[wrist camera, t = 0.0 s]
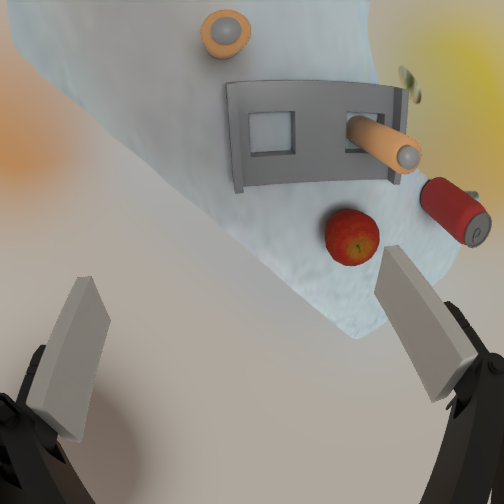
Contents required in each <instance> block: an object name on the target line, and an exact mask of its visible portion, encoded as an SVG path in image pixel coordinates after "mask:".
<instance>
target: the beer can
mask: <svg viewBox="0 0 504 504" xmlns="http://www.w3.org/2000/svg"><path fill="white" fill-rule="evenodd" d="M421 205H422V207H423V209H424V211H426V212H427V213H428V214H429V215H430V216H431V217H432V218H433V219H434V220H436V221H437V222H438V223H439V224H440V225H441V226H442V227H443V228H444V229H445V230H446V231H447V232H448V233H450V234H451V235H452V236H453V237H454V238H455V239H456V240H457V241H458V242H459V243H461V244H464V245H467V246H468V247H470V248H474V247H477V246H479V245H481V244H482V243H483V242H484V241H485V240H486V238H487V237H488V235H489V232H490V230H491V225H492V220H491V217H490V215H489V214H488V213H487V212H486V210H485V209H484V207H483V206H482V205H481V204H480V203H479V202H478V201H476V200H475V199H474V198H472V197H471V196H470V195H468V194H467V193H465V192H464V191H463V190H461V189H460V188H458V187H457V186H455V185H454V184H453V183H451V182H449V181H448V180H446V179H445V178H442V177H437V178H434V179H432V180H430V181H429V182H428V183H427V184H426V185H425V187H424V188H423V191H422V194H421Z"/></svg>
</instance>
